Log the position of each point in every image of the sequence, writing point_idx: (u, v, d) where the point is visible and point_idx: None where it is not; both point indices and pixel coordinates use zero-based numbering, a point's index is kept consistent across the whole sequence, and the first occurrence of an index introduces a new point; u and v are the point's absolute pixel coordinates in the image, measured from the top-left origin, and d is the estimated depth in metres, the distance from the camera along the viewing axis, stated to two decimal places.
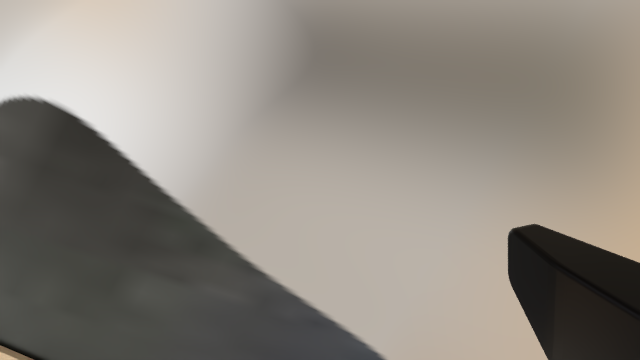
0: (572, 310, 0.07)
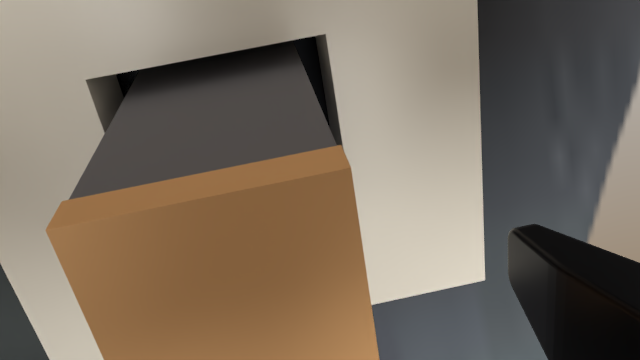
0: (572, 310, 0.07)
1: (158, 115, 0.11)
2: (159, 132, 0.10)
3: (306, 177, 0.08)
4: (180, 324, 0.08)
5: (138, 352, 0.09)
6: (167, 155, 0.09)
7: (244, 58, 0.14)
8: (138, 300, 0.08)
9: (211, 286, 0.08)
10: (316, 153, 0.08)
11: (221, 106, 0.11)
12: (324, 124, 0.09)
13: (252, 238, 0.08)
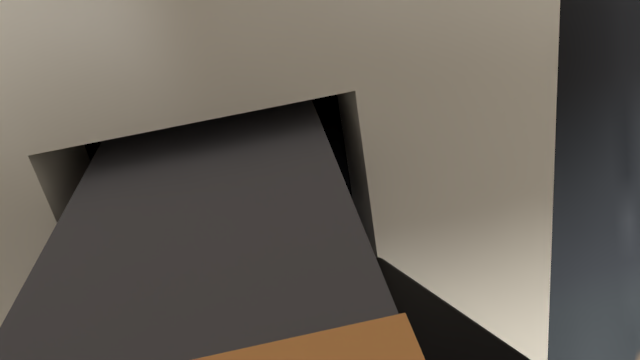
0: None
1: (123, 214, 0.08)
2: (120, 250, 0.07)
3: None
4: None
5: None
6: (127, 305, 0.06)
7: (245, 114, 0.11)
8: None
9: None
10: (366, 330, 0.05)
11: (213, 202, 0.08)
12: (369, 256, 0.06)
13: None
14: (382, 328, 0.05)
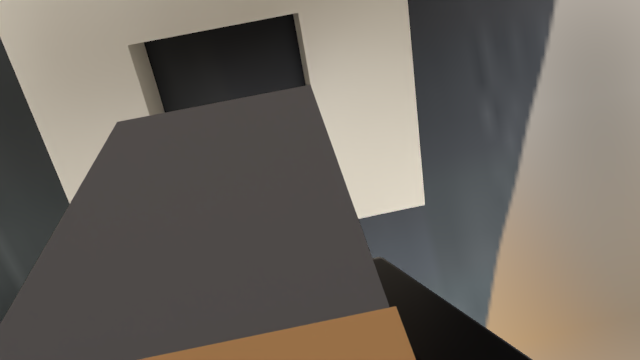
0: None
1: (126, 208, 0.08)
2: (122, 243, 0.07)
3: None
4: None
5: None
6: (126, 297, 0.06)
7: (248, 111, 0.11)
8: None
9: None
10: (356, 322, 0.05)
11: (215, 197, 0.08)
12: (364, 250, 0.06)
13: None
14: (372, 321, 0.05)
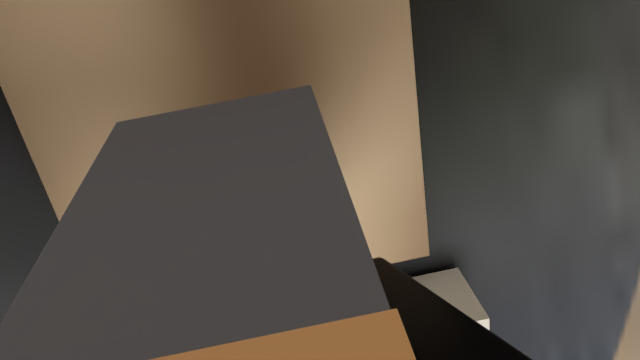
0: None
1: (126, 210, 0.08)
2: (121, 244, 0.07)
3: None
4: None
5: None
6: (125, 299, 0.06)
7: (248, 111, 0.11)
8: None
9: None
10: (357, 323, 0.05)
11: (214, 198, 0.08)
12: (364, 252, 0.06)
13: None
14: (373, 323, 0.05)
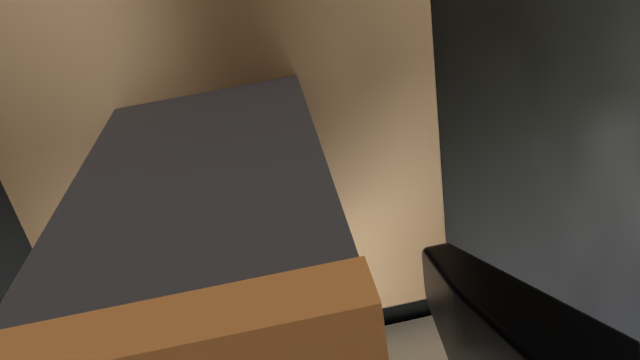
0: (467, 333, 0.07)
1: (126, 183, 0.09)
2: (123, 211, 0.08)
3: (317, 315, 0.05)
4: None
5: None
6: (129, 254, 0.07)
7: (238, 98, 0.12)
8: None
9: None
10: (330, 268, 0.06)
11: (206, 172, 0.09)
12: (339, 213, 0.07)
13: None
14: (343, 267, 0.06)
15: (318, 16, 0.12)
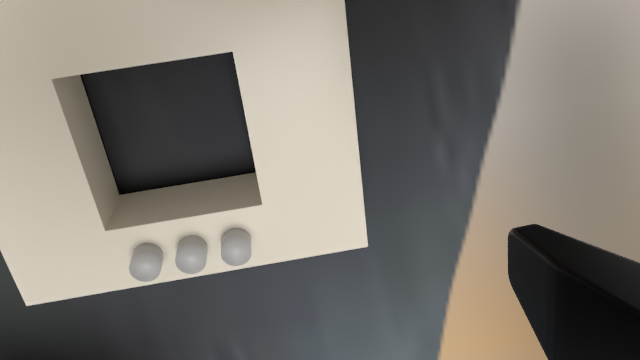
0: (572, 310, 0.07)
1: None
2: None
3: None
4: None
5: None
6: None
7: None
8: None
9: None
10: None
11: None
12: None
13: None
14: None
15: None
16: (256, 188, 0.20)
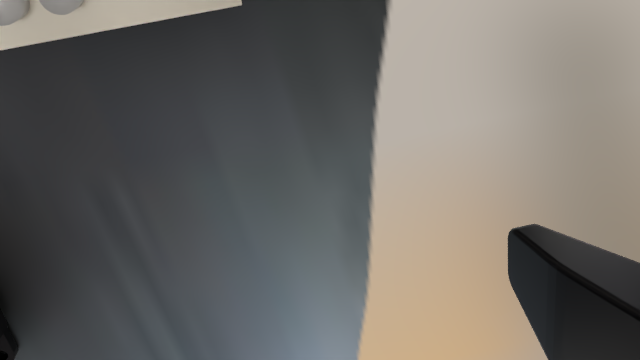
0: (572, 310, 0.07)
1: None
2: None
3: None
4: None
5: None
6: None
7: None
8: None
9: None
10: None
11: None
12: None
13: None
14: None
15: None
16: None
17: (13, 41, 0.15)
